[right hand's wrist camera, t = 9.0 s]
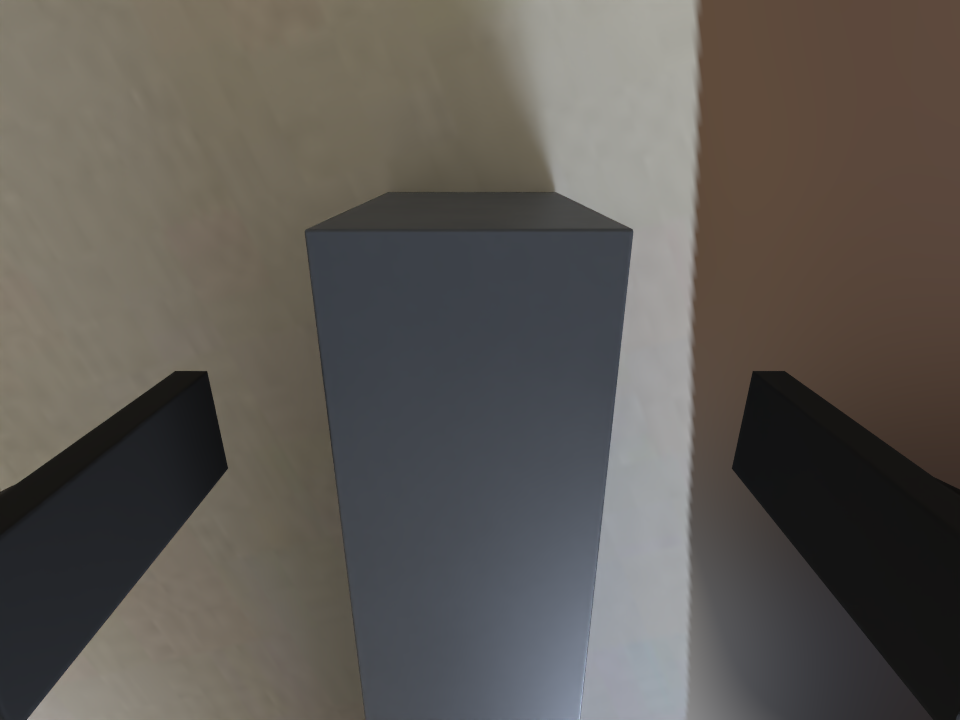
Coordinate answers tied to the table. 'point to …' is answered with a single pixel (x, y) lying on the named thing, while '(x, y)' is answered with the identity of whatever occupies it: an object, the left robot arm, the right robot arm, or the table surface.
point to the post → (470, 441)
